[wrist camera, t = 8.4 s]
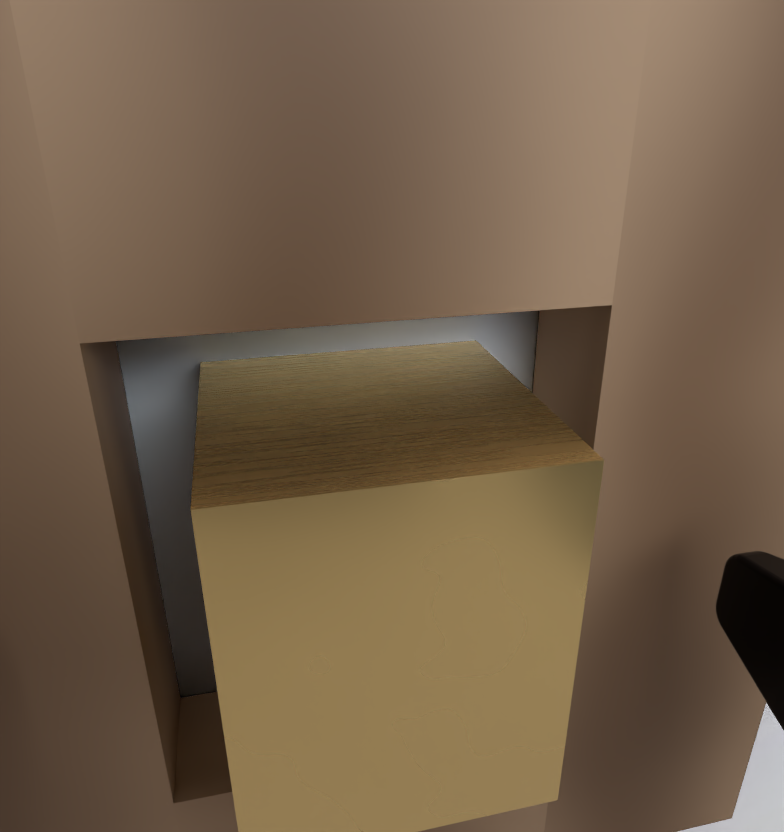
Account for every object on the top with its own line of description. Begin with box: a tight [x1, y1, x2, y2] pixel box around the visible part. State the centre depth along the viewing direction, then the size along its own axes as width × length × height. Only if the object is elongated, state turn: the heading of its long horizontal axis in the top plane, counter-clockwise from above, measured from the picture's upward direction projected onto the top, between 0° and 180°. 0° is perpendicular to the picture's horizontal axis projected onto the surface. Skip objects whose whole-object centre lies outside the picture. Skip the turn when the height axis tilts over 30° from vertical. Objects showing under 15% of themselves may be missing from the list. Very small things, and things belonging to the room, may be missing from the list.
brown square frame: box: [0, 0, 784, 832], centre depth 10 cm, size 14×14×2 cm
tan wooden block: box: [190, 341, 604, 832], centre depth 9 cm, size 4×5×4 cm
